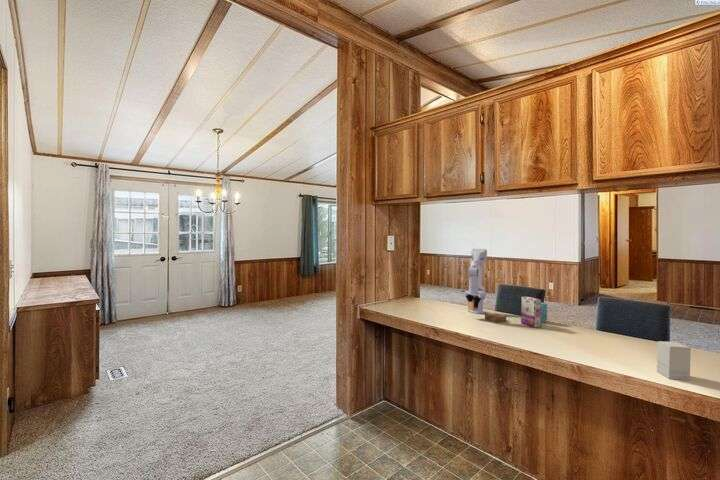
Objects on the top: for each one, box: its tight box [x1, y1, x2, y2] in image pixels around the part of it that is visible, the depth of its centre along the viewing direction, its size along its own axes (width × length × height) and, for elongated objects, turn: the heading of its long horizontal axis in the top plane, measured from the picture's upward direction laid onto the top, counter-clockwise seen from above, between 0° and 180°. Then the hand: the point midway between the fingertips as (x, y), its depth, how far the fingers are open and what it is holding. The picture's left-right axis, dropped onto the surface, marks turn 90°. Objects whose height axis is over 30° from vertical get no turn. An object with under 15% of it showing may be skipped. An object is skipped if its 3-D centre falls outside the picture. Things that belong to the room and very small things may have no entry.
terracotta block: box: [467, 301, 478, 311], centre depth 226 cm, size 4×4×5 cm
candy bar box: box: [520, 296, 542, 328], centre depth 210 cm, size 11×5×16 cm, turn 16°
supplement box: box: [656, 340, 692, 381], centre depth 137 cm, size 7×7×13 cm
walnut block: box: [484, 312, 507, 323], centre depth 222 cm, size 9×9×4 cm
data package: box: [541, 301, 548, 324], centre depth 220 cm, size 12×4×12 cm, turn 36°
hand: (473, 306), depth 226 cm, fingers closed on terracotta block, 4 cm apart
